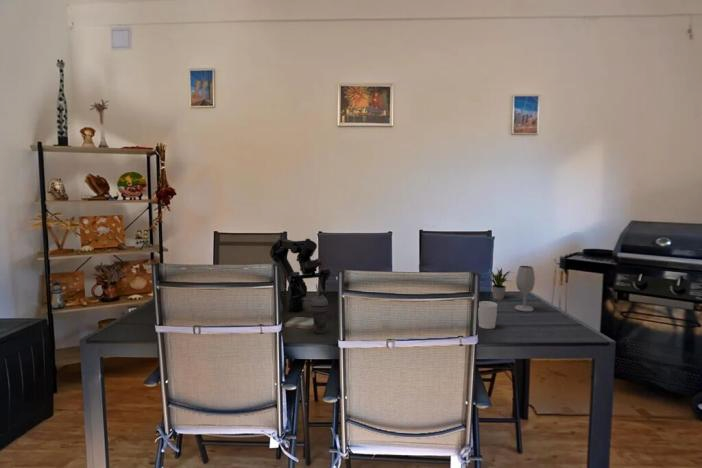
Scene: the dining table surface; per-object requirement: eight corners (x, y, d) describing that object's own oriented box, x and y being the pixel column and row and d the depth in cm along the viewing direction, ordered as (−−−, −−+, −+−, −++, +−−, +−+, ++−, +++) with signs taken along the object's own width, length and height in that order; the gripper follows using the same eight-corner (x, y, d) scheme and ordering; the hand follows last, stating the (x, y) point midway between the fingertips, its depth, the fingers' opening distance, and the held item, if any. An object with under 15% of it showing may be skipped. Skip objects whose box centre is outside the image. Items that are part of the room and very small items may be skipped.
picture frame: (285, 326, 192) (284, 323, 192) (294, 319, 201) (294, 316, 201) (311, 329, 189) (311, 325, 188) (319, 321, 198) (319, 318, 198)
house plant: (518, 302, 227) (519, 270, 225) (491, 302, 227) (492, 270, 225) (508, 294, 241) (510, 265, 239) (483, 295, 241) (484, 265, 239)
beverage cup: (326, 334, 182) (325, 287, 179) (309, 333, 183) (308, 286, 181) (330, 328, 189) (329, 282, 186) (314, 327, 190) (313, 282, 188)
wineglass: (514, 311, 212) (515, 267, 209) (514, 306, 220) (516, 264, 217) (533, 313, 209) (535, 269, 206) (533, 307, 217) (535, 265, 214)
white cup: (486, 330, 185) (487, 307, 184) (473, 325, 192) (474, 302, 191) (500, 327, 189) (501, 304, 188) (487, 322, 196) (487, 300, 195)
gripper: (289, 254, 195) (298, 284, 186) (328, 251, 202) (339, 279, 194) (284, 269, 202) (292, 298, 194) (322, 265, 210) (332, 293, 202)
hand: (314, 292), depth 196 cm, fingers open, 9 cm apart
